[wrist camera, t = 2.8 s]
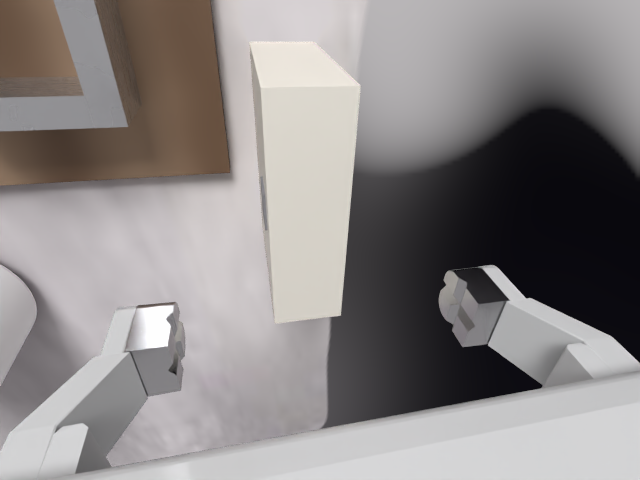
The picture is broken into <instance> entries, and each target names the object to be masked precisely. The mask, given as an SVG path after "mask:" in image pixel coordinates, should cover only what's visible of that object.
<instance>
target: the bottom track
mask: <svg viewBox="0 0 640 480" xmlns="http://www.w3.org/2000/svg"><path fill="white" fill-rule="evenodd" d="M54 3H55V7H56V10H57V13H58V16H59V19H60V22H61V25H62V28H63V31H64V35H65V38H66V41H67V44H68V47H69V50H70V53H71V56H72V59H73V62H74V66H75V69H76V72H77V75H78V77H15V78H0V131H27V130H56V129H85V128H114V127H128V126H129V125H130V123H131V121H132V120H133V118H134V116H135V115H136V113H137V112H138V110H139V108H140V107H141V105H142V102H141V98H140V94H139V89H138V85H137V81H136V77H135V73H134V68H133V64H132V60H131V56H130V52H129V48H128V43H127V39H126V35H125V31H124V27H123V22H122V18H121V14H120V10H119V6H118V2H117V0H54Z"/></svg>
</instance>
